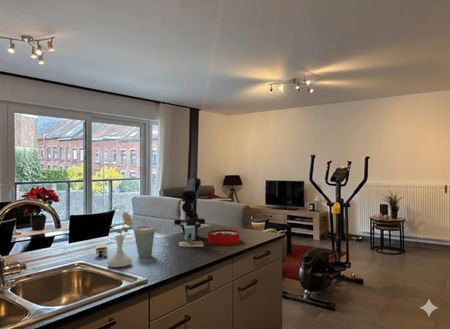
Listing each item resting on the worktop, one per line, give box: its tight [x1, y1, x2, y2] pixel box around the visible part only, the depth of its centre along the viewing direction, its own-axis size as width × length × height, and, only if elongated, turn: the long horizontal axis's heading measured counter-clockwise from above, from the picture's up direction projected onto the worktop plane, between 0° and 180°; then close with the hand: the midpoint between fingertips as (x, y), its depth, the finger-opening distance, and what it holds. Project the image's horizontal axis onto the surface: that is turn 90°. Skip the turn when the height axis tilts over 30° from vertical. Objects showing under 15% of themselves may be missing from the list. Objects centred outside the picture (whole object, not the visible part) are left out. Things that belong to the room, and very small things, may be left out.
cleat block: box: [183, 225, 196, 241], centre depth 209 cm, size 7×6×7 cm
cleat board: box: [178, 237, 205, 249], centre depth 201 cm, size 10×14×4 cm
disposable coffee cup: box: [133, 225, 156, 258], centre depth 176 cm, size 11×11×15 cm
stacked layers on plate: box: [95, 243, 109, 257], centre depth 177 cm, size 10×9×6 cm
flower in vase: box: [106, 211, 135, 268], centre depth 159 cm, size 13×11×25 cm
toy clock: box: [207, 228, 241, 246], centre depth 211 cm, size 20×6×20 cm
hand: (189, 235), depth 209 cm, fingers closed on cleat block, 6 cm apart
